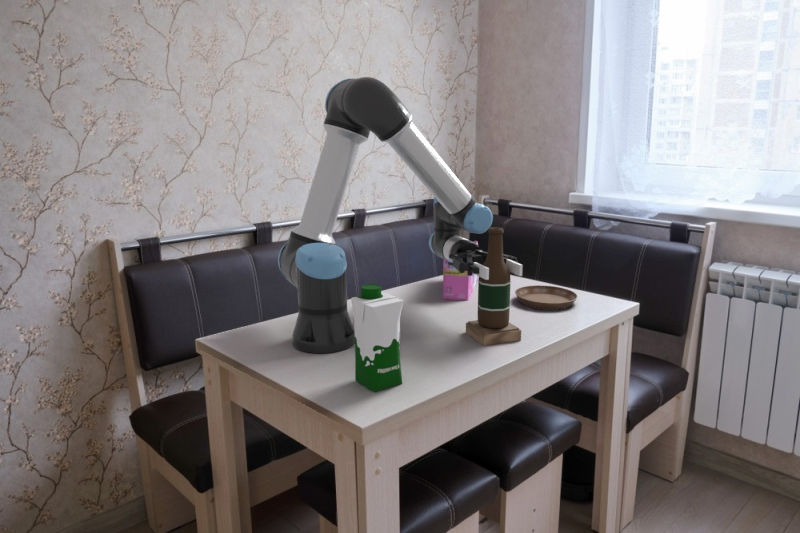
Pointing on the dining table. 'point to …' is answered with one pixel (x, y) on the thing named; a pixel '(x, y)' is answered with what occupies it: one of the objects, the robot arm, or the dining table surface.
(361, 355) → the milk carton
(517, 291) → the plant saucer
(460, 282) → the gum box
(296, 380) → the dining table surface
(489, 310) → the beer bottle
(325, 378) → the dining table surface
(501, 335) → the plinth
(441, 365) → the dining table surface
